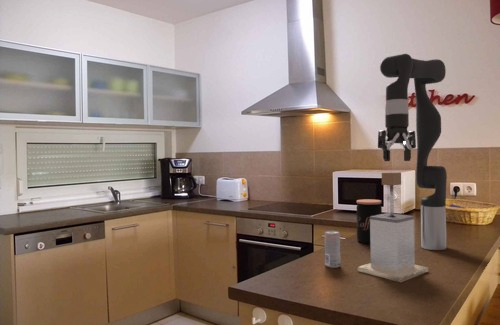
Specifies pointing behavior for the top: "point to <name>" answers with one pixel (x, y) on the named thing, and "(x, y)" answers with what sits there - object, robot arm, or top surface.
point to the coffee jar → (366, 217)
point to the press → (392, 248)
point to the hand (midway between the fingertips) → (397, 161)
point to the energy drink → (332, 249)
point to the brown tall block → (391, 186)
